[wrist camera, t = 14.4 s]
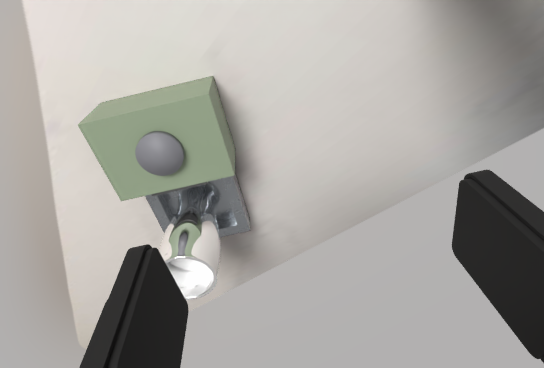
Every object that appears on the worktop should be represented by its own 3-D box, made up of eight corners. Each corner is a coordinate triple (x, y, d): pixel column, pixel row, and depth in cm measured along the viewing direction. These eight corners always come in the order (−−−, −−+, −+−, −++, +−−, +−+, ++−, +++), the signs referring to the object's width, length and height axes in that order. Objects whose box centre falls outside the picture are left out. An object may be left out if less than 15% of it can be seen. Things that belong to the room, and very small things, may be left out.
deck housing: (213, 75, 40) (207, 96, 33) (236, 152, 45) (236, 184, 39) (101, 102, 40) (73, 128, 34) (138, 175, 46) (120, 209, 39)
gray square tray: (228, 150, 45) (227, 161, 43) (249, 217, 52) (250, 230, 49) (143, 170, 46) (137, 181, 43) (175, 234, 52) (171, 247, 50)
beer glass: (201, 168, 45) (187, 244, 33) (233, 201, 48) (232, 282, 36) (164, 194, 47) (136, 276, 34) (197, 225, 50) (183, 309, 38)
